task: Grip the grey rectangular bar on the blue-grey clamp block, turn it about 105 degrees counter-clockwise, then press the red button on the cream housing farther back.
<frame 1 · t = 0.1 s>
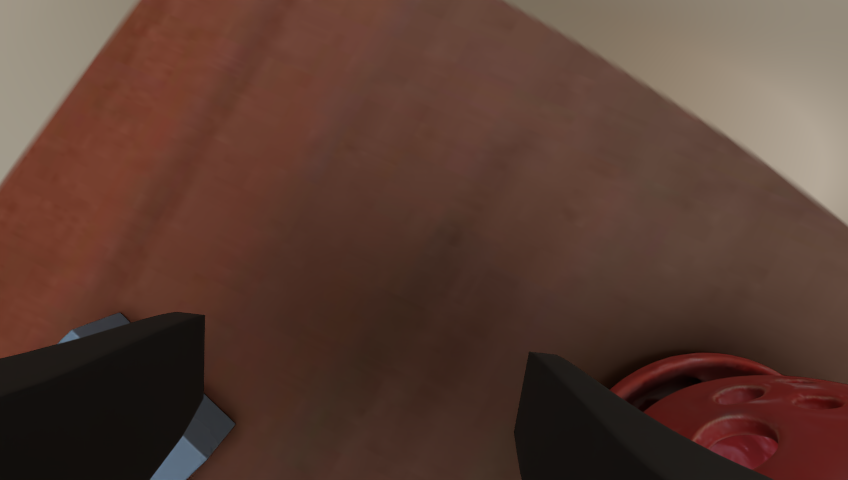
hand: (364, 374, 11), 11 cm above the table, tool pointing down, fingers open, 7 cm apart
flower pot: (687, 462, 22), on the table
clamp block: (115, 430, 22), on the table
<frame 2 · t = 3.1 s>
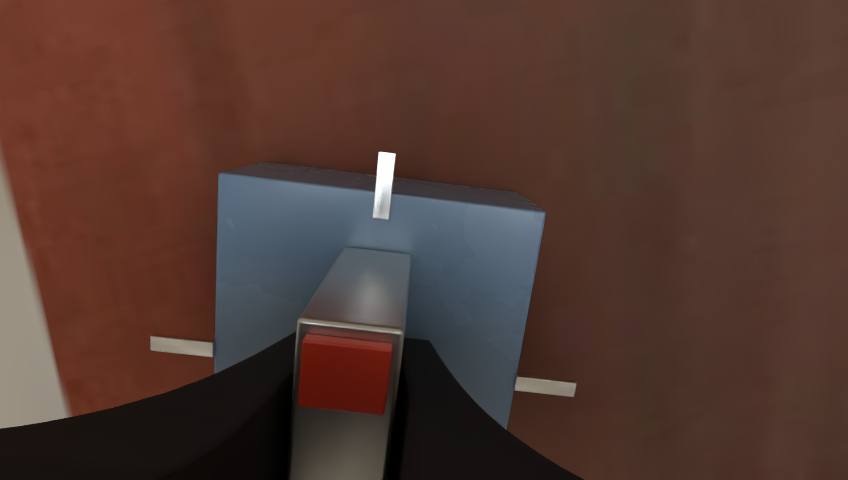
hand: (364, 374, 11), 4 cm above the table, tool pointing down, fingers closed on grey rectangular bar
grey rectangular bar: (352, 419, 9), point 5 cm above the table, hinge at -0.1°, touching gripper
clamp block: (378, 314, 14), on the table
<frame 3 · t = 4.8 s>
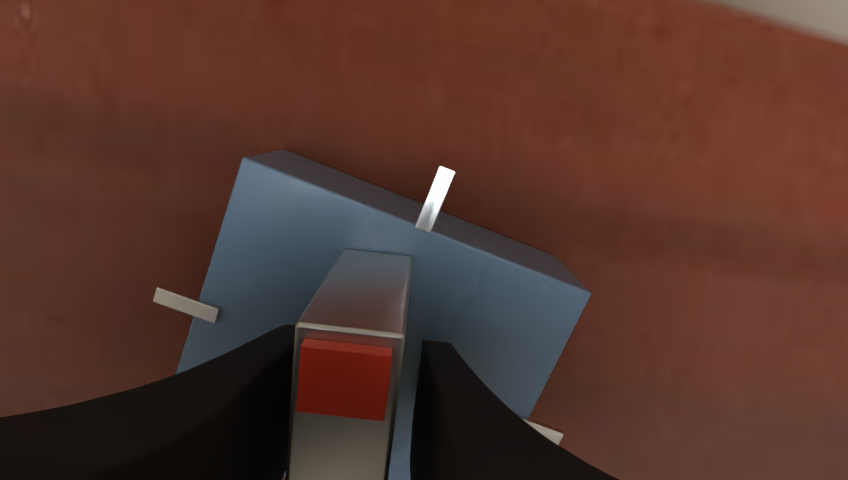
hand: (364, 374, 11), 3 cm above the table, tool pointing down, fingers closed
grey rectangular bar: (352, 424, 9), point 5 cm above the table, hinge at 104.8°
clamp block: (378, 315, 14), on the table
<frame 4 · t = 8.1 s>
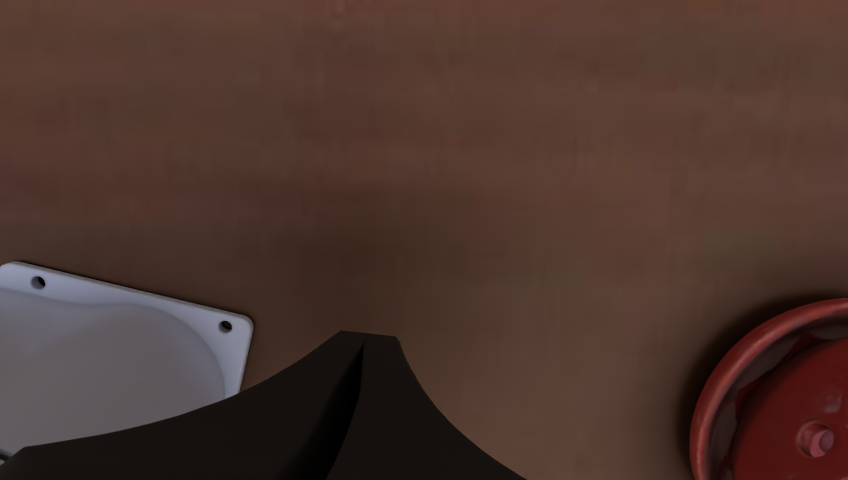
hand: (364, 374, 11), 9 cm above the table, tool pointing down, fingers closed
flower pot: (801, 411, 22), on the table
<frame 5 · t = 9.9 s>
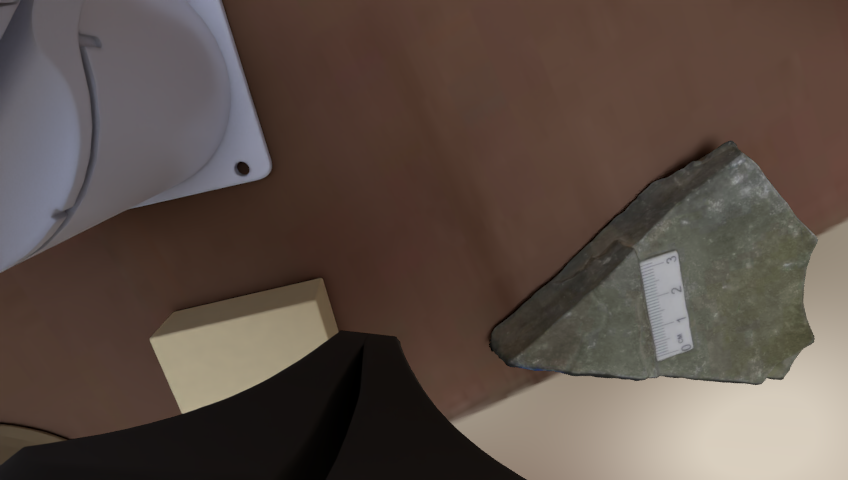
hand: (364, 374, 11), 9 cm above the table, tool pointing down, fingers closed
button box: (274, 369, 20), on the table
stone: (697, 316, 16), point 4 cm above the table
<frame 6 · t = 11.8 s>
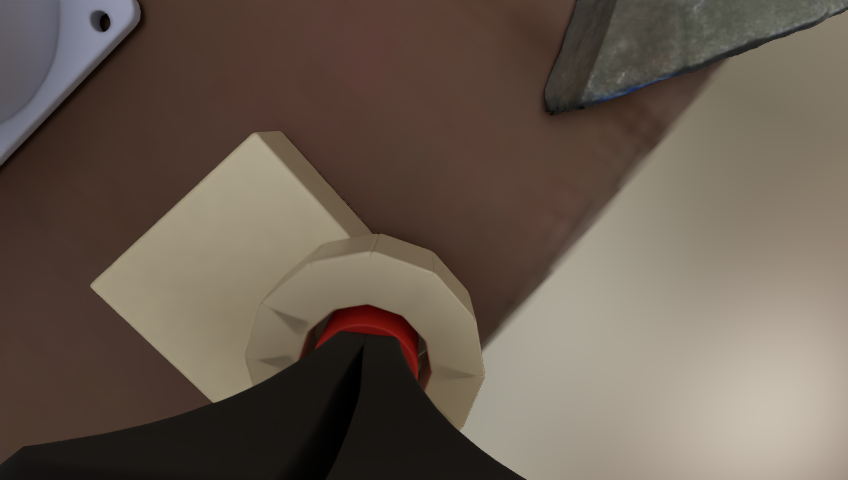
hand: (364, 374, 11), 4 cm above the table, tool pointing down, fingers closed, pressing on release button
button box: (289, 285, 15), on the table
release button: (367, 356, 12), point 3 cm above the table, slide at -0.9 cm, touching gripper
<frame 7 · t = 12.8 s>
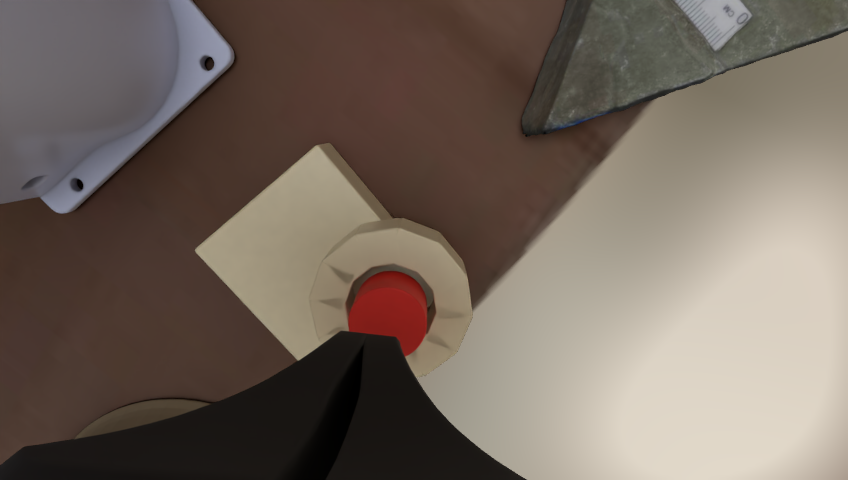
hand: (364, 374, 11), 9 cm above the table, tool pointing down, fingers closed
button box: (331, 257, 20), on the table
release button: (389, 314, 16), point 5 cm above the table, slide at 0.1 cm
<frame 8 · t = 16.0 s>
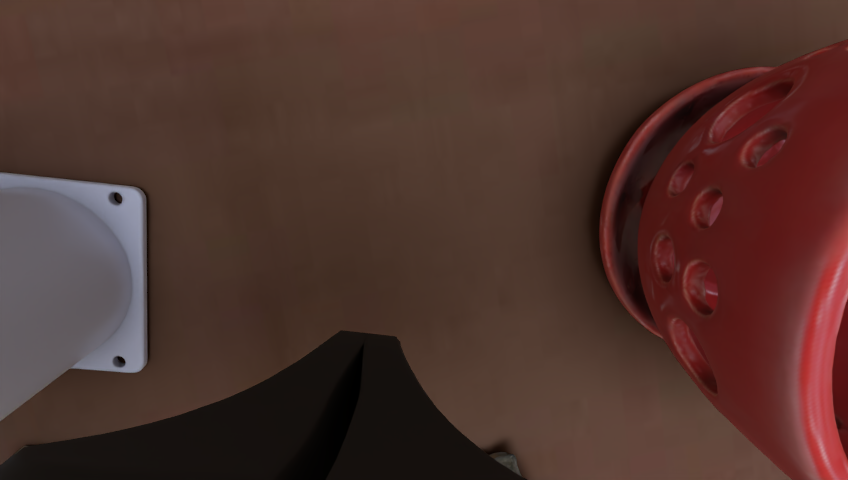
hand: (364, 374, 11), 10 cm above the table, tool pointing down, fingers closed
flower pot: (719, 214, 22), on the table
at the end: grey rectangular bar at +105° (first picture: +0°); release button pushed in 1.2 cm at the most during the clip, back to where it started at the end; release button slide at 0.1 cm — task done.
